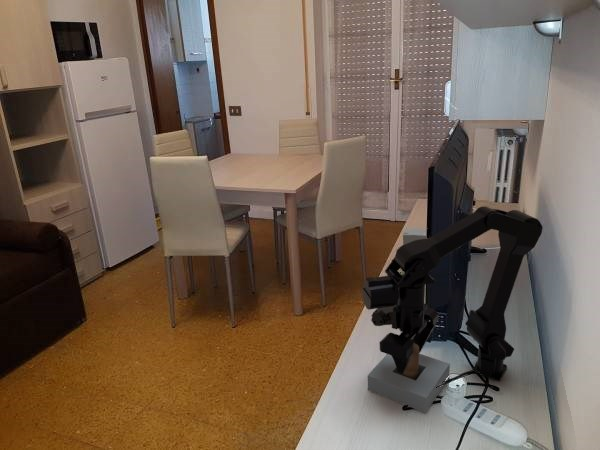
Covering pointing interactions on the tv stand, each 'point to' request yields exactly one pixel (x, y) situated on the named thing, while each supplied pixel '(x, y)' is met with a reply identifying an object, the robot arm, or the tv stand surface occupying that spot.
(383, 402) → the tv stand surface
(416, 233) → the skincare box
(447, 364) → the socket block
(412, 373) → the walnut peg
